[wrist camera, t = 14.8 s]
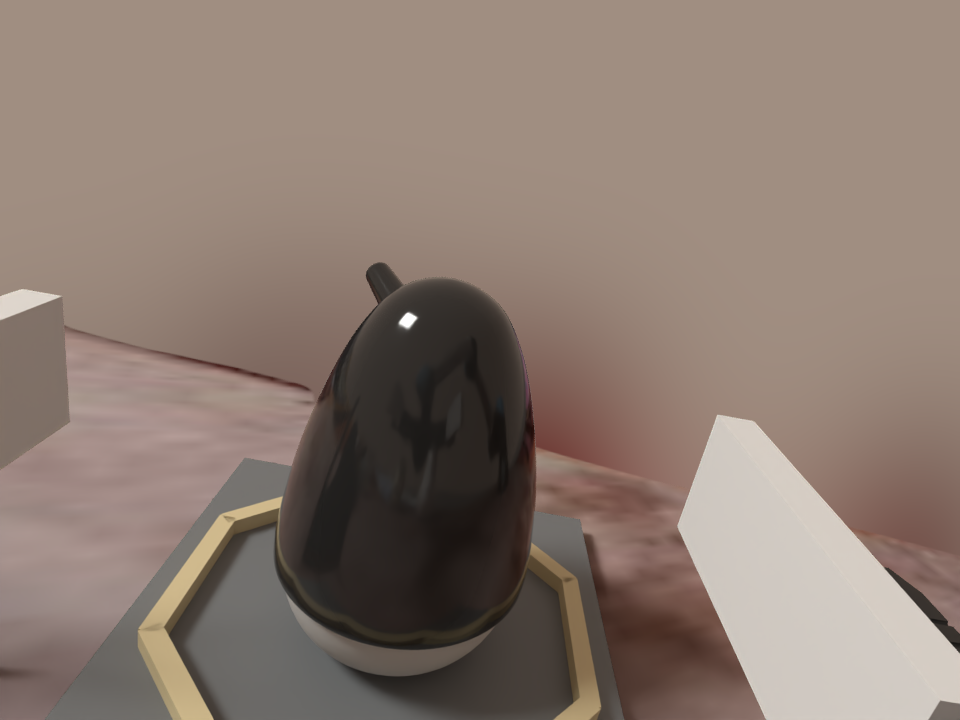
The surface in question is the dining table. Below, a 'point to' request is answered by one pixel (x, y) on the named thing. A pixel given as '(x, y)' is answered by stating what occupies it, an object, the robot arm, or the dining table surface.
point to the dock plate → (312, 672)
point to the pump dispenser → (413, 483)
